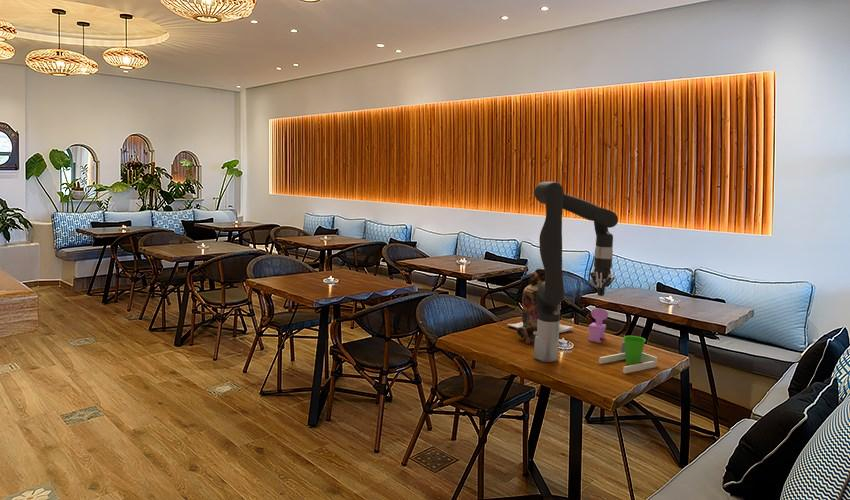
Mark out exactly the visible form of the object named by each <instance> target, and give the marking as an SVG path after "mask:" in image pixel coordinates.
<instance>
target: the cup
mask: <svg viewBox="0 0 850 500" xmlns="http://www.w3.org/2000/svg"><path fill="white" fill-rule="evenodd" d="M623 341H624V343H625V355H626V359H625V362H626V363H625V364H626V365H627V366H630V365H635V364H640V363H641V362H640V359H641V355H642V352H643V351H644V347H645V343H646V342H647V339H646V338H644V337H642V336H637V335H625V336H623Z"/></svg>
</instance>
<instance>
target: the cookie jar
mask: <svg viewBox="0 0 850 500" xmlns="http://www.w3.org/2000/svg"><path fill="white" fill-rule="evenodd" d="M529 279H530V280H531V281H532V282H531V283H530V284H529V285H527V286H526V287H525V288H524V289H523V295H522V298H521V299H522V301H521V302H522V303H521V305H522V310H521V311H522V315H521V321H520V322H517V323H508V324H507V327H512V328H515V329H518V328H519V327H522V328H524V329H525V328H526V327H528V326H534V327H537V324H538V313H537V291H538V287H539V286H540V284H541V283H543V282H545V270H544V268H537V269H535V270H534V271H533V272H531V273H530V274H529ZM557 307H558V311H559V313H560V314H561V310H560V304H559V305H557ZM573 329H574V326H572V325H571V326H570V325H564V324H561V323H560V327H559V334H560V333H566V332H572V331H573ZM533 334H534V335H536V336H537V330H536V331H534V332H533Z"/></svg>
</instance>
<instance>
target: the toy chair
mask: <svg viewBox="0 0 850 500" xmlns="http://www.w3.org/2000/svg"><path fill="white" fill-rule="evenodd" d="M590 315H591V316H592V318H593V319H594V320H595V322H592V323H590V324H589V325H588V331H589V332H588V333H589V337H588V339H587V341H590V342H594V343H595V342H596V343H602V341H601V339H604V340H605V339H606V336H605V331H606V329H607V324H603V321H604V320H606V319H607V318H608V317H609V312H608V311H607V310H606V309H605V308H600V307H596V308H593V309H592V310H590Z"/></svg>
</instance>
